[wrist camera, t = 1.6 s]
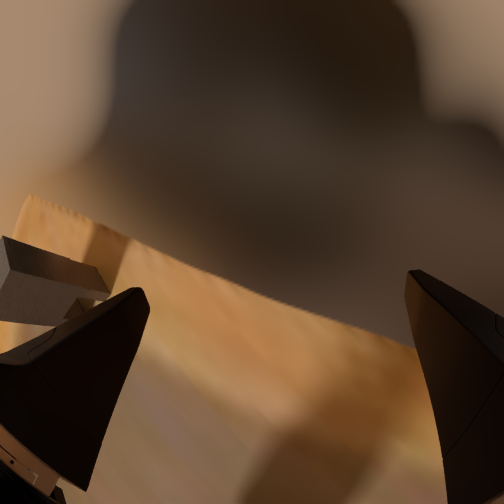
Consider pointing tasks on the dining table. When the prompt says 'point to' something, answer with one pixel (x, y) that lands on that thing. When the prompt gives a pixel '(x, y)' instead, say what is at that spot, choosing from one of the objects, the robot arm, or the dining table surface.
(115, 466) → the dining table surface
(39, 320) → the grey tall block
